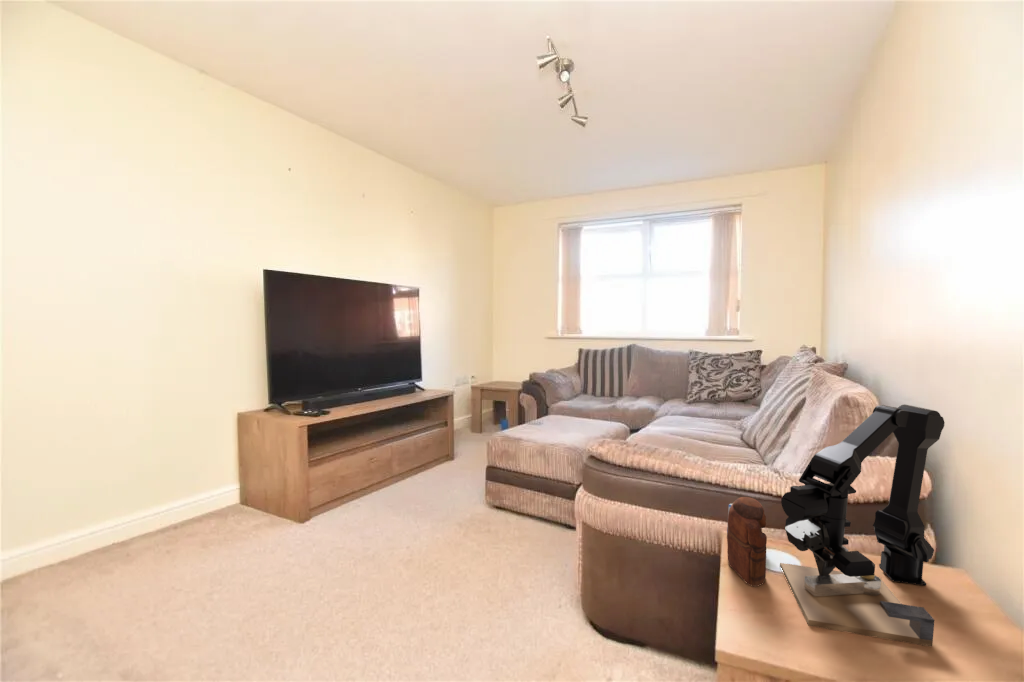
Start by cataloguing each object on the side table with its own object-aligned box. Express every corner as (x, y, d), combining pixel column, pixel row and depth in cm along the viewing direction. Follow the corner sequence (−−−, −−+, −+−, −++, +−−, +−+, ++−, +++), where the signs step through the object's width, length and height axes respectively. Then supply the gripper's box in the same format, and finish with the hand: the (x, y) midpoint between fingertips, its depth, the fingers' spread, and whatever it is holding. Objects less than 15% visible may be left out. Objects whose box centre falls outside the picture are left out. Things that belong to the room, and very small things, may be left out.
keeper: (921, 633, 87) (923, 607, 87) (932, 646, 84) (934, 619, 83) (878, 626, 89) (879, 600, 89) (886, 639, 86) (888, 612, 85)
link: (866, 580, 101) (867, 569, 101) (886, 594, 96) (887, 583, 96) (801, 585, 100) (801, 573, 99) (817, 599, 95) (818, 587, 95)
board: (879, 581, 103) (880, 560, 102) (932, 646, 84) (934, 620, 83) (779, 567, 108) (780, 547, 108) (808, 625, 89) (809, 601, 89)
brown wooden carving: (775, 587, 101) (779, 509, 100) (748, 588, 101) (751, 510, 99) (744, 557, 113) (747, 487, 111) (720, 558, 113) (722, 488, 111)
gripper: (766, 493, 106) (761, 555, 108) (827, 539, 88) (820, 612, 90) (811, 491, 107) (805, 552, 109) (881, 536, 89) (872, 608, 91)
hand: (822, 578), depth 100 cm, fingers closed
